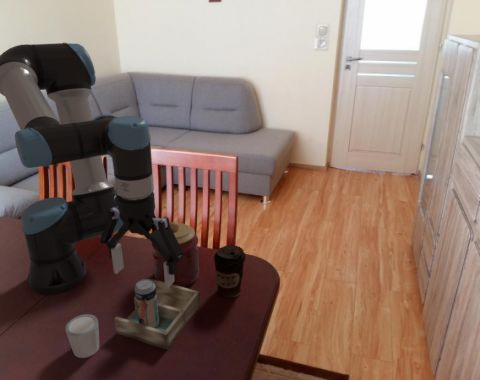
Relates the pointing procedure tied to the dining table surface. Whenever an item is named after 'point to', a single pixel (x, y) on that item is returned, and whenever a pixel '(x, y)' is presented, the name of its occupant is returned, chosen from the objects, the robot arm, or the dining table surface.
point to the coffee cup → (229, 270)
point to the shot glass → (83, 335)
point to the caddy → (162, 316)
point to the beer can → (146, 303)
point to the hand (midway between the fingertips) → (143, 277)
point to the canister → (188, 263)
